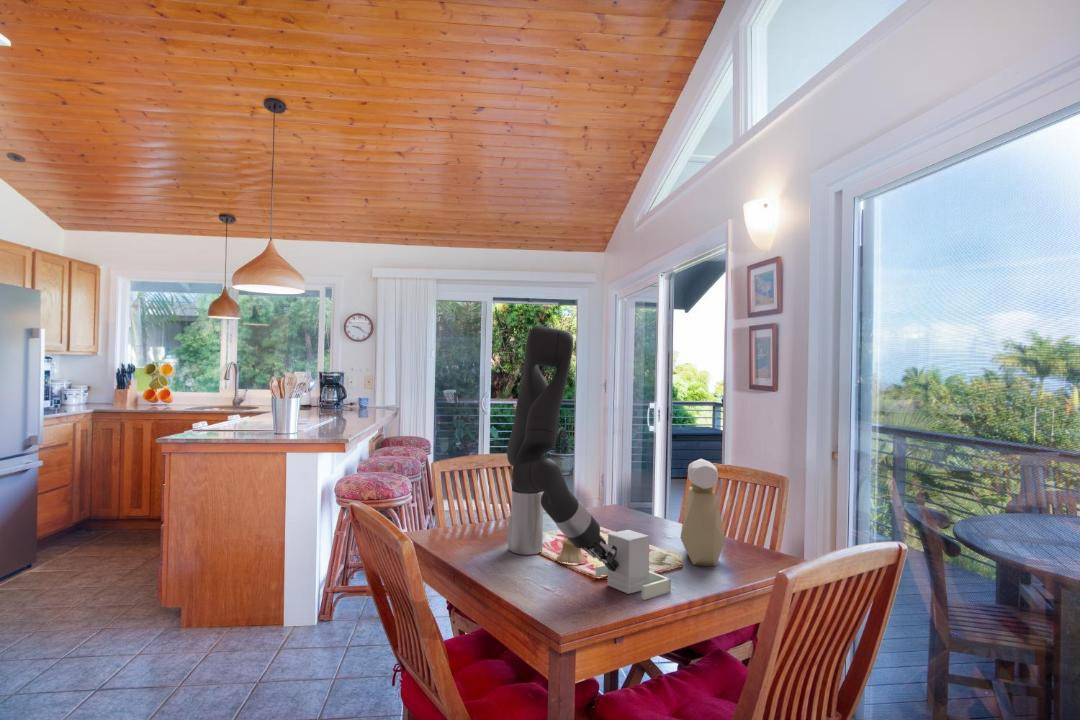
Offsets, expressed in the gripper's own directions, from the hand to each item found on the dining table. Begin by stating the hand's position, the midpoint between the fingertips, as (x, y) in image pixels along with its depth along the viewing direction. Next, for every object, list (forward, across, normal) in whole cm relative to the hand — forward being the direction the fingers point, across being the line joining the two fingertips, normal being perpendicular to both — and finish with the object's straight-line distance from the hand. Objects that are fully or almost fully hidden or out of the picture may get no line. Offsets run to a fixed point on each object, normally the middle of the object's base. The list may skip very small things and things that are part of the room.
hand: (614, 567), depth 139 cm
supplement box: (+7, 0, +1) cm, 7 cm away
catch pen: (+8, 0, -1) cm, 8 cm away
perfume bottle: (+30, +3, -22) cm, 37 cm away
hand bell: (+8, +22, 0) cm, 24 cm away
